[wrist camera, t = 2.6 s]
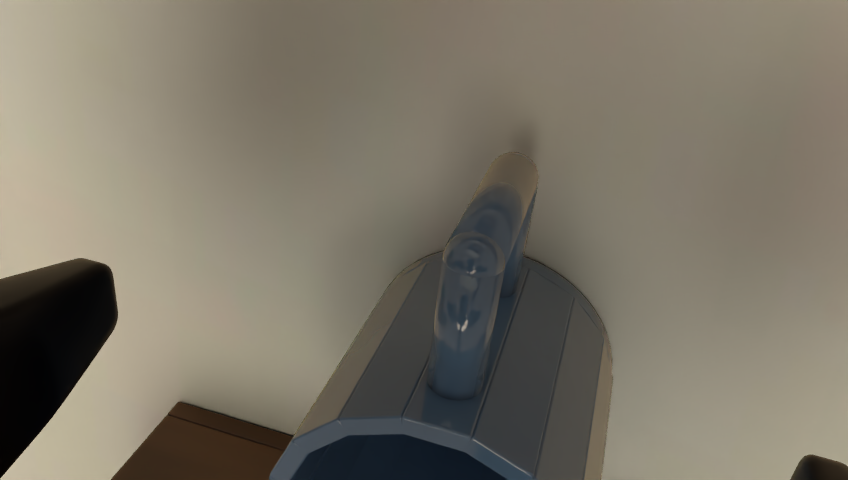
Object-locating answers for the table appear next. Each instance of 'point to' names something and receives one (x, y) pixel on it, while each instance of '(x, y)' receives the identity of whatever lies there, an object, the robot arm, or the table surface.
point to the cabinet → (204, 449)
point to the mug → (468, 364)
